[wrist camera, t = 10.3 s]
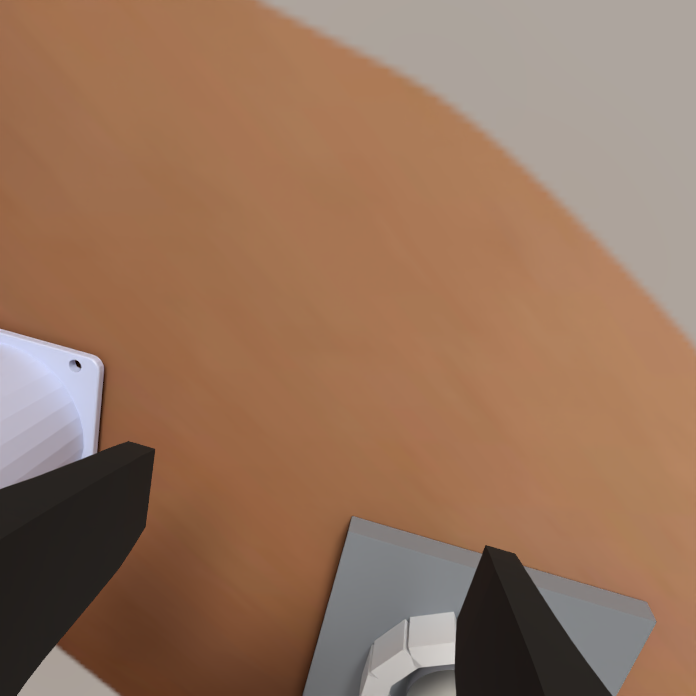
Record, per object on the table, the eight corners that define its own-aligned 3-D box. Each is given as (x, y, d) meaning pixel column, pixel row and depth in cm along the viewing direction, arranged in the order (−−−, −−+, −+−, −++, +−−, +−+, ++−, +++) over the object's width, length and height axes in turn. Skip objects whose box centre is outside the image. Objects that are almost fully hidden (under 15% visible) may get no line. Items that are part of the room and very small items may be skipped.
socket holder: (295, 719, 26) (282, 773, 24) (352, 515, 22) (342, 556, 20) (542, 798, 25) (553, 863, 23) (646, 602, 21) (673, 655, 19)
